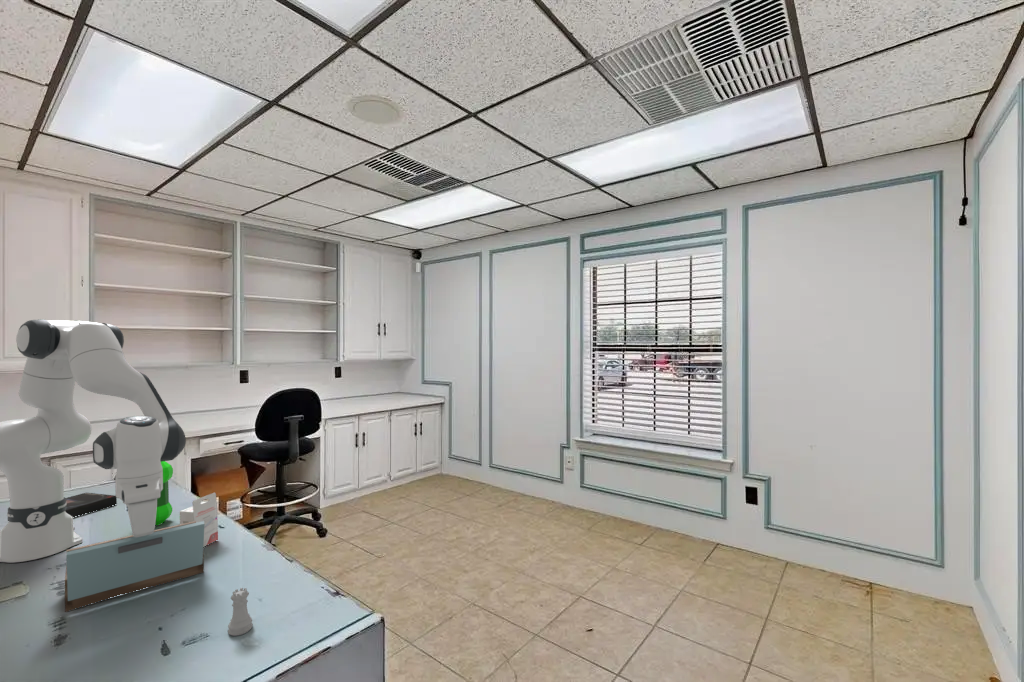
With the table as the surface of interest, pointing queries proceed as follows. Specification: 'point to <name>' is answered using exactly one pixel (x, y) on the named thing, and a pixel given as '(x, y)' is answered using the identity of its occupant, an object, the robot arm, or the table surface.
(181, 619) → the table surface
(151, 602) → the table surface
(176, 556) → the drawer face panel
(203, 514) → the ink cartridge box
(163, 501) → the plastic bottle
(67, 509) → the flat black box
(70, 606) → the brown long open box
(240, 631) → the rook chess piece
